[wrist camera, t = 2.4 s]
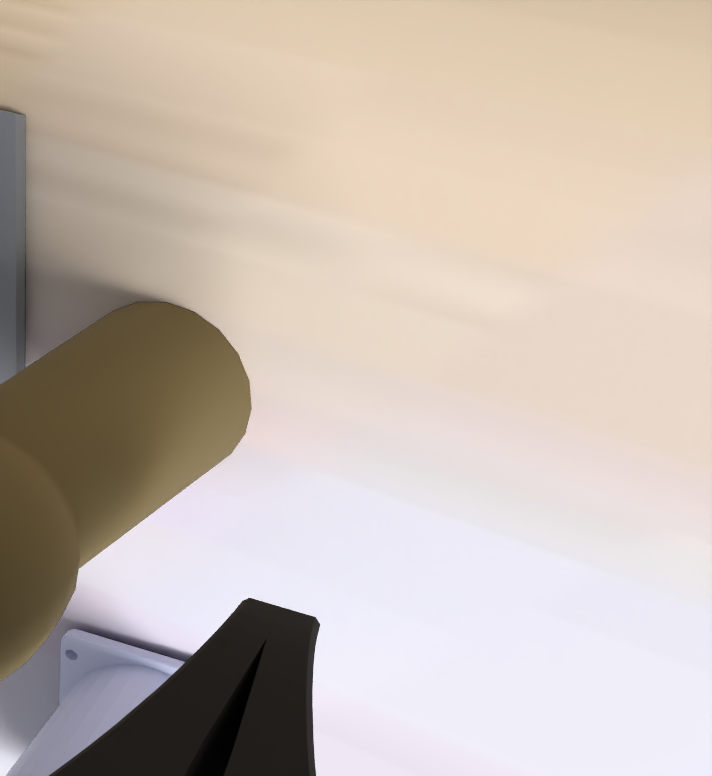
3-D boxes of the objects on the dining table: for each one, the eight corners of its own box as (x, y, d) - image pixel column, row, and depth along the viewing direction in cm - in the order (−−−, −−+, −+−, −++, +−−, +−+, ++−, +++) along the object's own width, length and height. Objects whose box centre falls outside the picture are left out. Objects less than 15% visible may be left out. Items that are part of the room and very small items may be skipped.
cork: (45, 349, 19) (-422, 534, 9) (188, 267, 17) (-190, 381, 7) (143, 496, 21) (-165, 804, 10) (284, 434, 19) (82, 730, 9)
